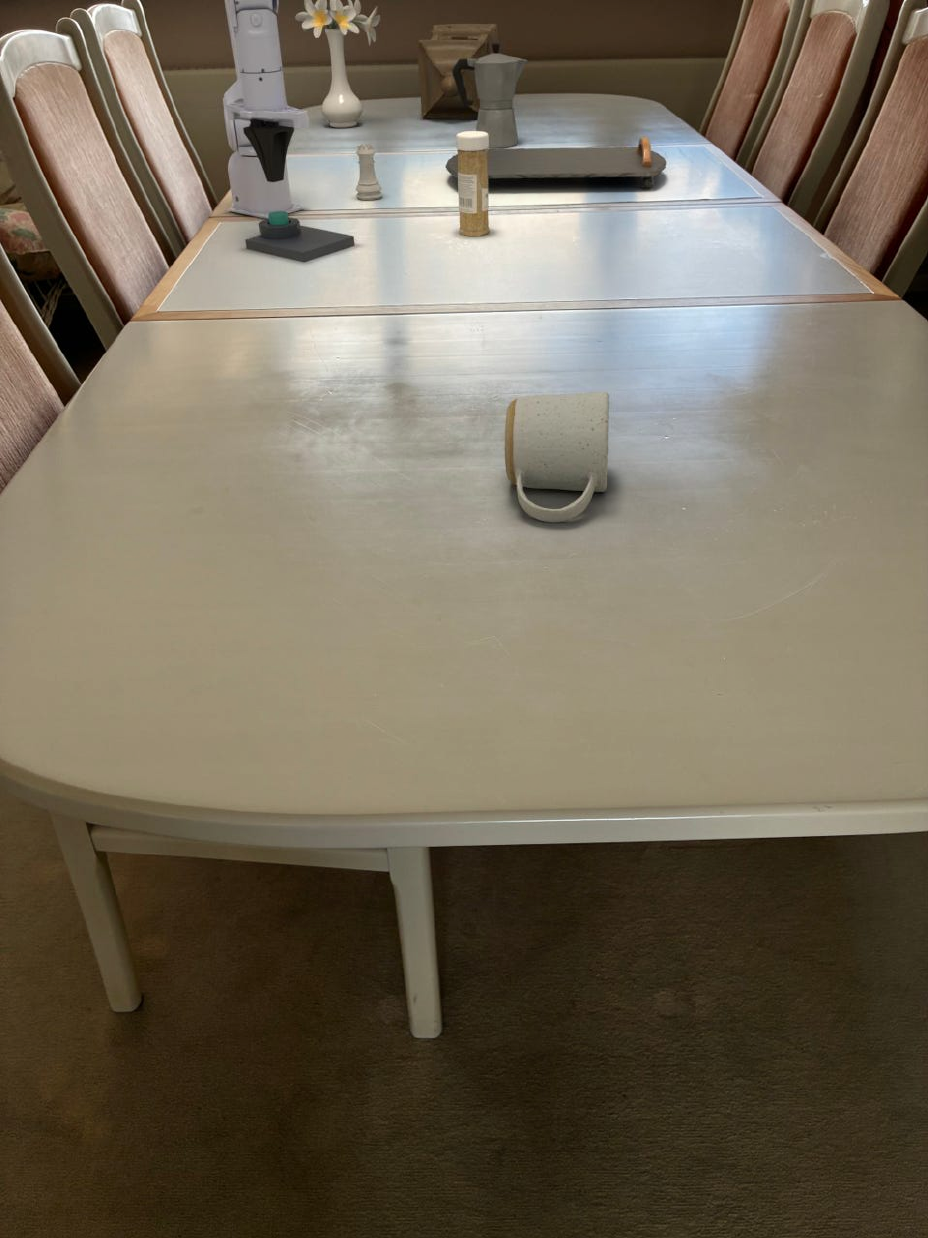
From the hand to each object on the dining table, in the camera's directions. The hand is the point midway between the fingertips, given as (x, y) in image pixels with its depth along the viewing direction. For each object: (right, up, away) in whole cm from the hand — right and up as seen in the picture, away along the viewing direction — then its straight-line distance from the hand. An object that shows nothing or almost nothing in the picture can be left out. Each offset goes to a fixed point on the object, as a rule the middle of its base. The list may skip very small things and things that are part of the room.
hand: (275, 180), depth 135 cm
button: (0, -5, +3) cm, 6 cm away
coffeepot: (+32, +36, +62) cm, 78 cm away
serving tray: (+43, +16, +35) cm, 58 cm away
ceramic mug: (+34, -52, -58) cm, 85 cm away
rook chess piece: (+11, +9, +27) cm, 30 cm away
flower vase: (0, +52, +85) cm, 100 cm away
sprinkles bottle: (+28, -5, +7) cm, 29 cm away
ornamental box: (+25, +59, +95) cm, 115 cm away
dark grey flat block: (+3, -9, +2) cm, 9 cm away
